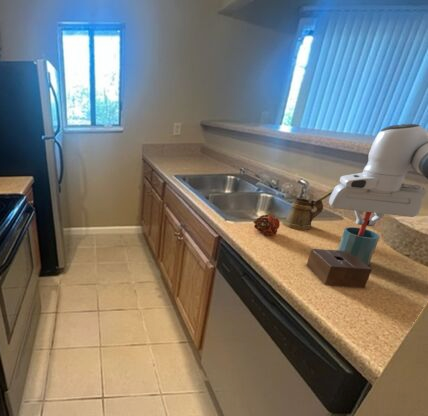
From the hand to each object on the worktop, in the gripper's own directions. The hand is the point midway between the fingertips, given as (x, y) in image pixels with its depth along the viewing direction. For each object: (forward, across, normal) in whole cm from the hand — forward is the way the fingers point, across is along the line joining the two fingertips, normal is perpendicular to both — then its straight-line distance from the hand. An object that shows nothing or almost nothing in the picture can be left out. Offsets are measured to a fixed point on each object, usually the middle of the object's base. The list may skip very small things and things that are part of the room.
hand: (364, 224), depth 85 cm
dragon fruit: (+13, +24, -12) cm, 30 cm away
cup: (+13, 0, 0) cm, 13 cm away
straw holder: (+13, +8, +13) cm, 20 cm away
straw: (+10, 0, 0) cm, 10 cm away
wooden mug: (+13, +9, -24) cm, 29 cm away
